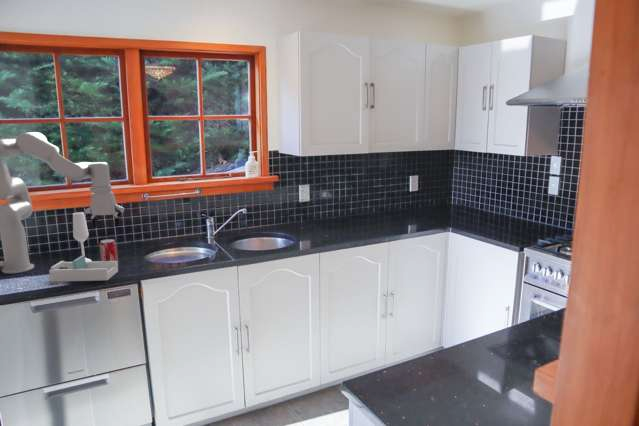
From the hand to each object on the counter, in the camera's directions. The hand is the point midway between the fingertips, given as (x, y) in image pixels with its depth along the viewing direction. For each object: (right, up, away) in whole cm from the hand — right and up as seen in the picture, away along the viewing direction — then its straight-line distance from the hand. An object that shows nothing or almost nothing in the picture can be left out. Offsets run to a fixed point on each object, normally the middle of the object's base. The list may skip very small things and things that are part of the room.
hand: (106, 226), depth 213 cm
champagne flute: (-18, -18, +14) cm, 29 cm away
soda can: (0, -19, +4) cm, 20 cm away
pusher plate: (-8, -20, -8) cm, 23 cm away
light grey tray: (-6, -22, -8) cm, 24 cm away
